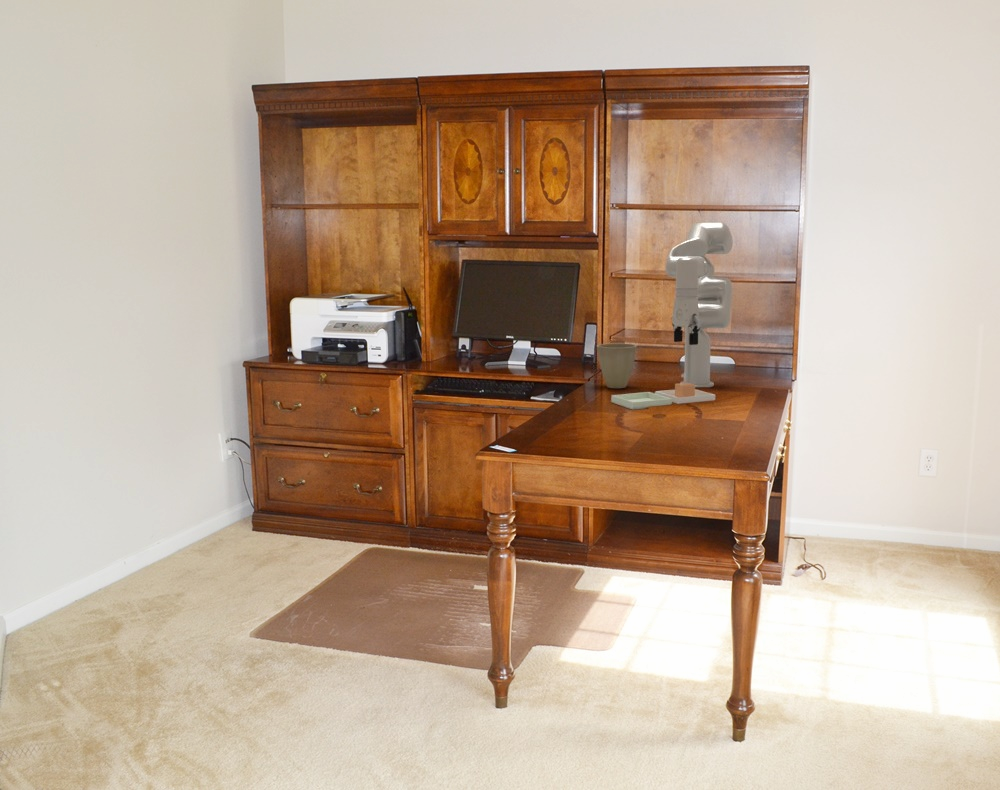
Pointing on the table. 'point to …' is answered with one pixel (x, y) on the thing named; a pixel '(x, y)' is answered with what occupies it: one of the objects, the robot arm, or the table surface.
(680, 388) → the brown cube
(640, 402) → the green tray
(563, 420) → the table surface
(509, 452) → the table surface
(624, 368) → the plant pot
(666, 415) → the table surface
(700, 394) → the white tray
